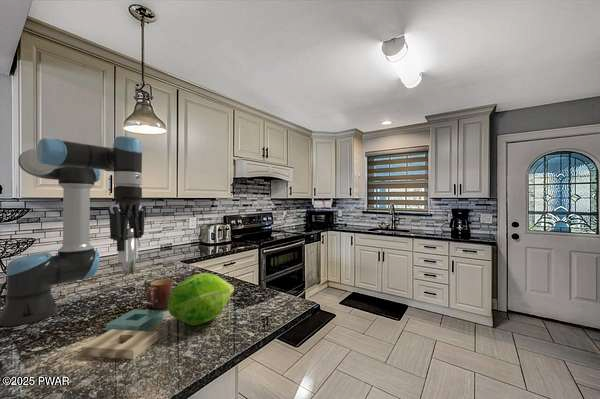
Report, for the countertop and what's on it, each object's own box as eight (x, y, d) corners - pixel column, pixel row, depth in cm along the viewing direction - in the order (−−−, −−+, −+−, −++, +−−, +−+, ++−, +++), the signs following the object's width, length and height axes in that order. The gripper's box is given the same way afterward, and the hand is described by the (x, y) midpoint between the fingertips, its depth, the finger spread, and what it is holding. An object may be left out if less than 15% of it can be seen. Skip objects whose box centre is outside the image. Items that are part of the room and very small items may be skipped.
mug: (160, 301, 111) (160, 278, 112) (178, 303, 110) (178, 279, 110) (138, 313, 100) (138, 287, 100) (157, 315, 98) (157, 288, 98)
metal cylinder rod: (118, 274, 79) (118, 229, 79) (127, 271, 83) (127, 228, 83) (129, 274, 79) (129, 229, 79) (137, 271, 82) (137, 227, 83)
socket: (106, 333, 84) (106, 324, 84) (133, 317, 96) (133, 309, 96) (139, 335, 83) (139, 326, 83) (163, 318, 95) (163, 310, 95)
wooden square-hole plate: (81, 355, 72) (81, 346, 72) (111, 337, 82) (111, 329, 82) (133, 359, 70) (133, 350, 70) (157, 339, 80) (157, 331, 80)
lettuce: (247, 316, 96) (247, 271, 96) (179, 344, 77) (179, 288, 78) (220, 303, 109) (220, 263, 109) (157, 325, 90) (157, 276, 90)
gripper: (118, 183, 73) (118, 266, 72) (156, 187, 89) (156, 254, 89) (93, 184, 73) (93, 266, 73) (136, 188, 90) (136, 254, 89)
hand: (128, 259), depth 81 cm, fingers closed on metal cylinder rod, 4 cm apart
